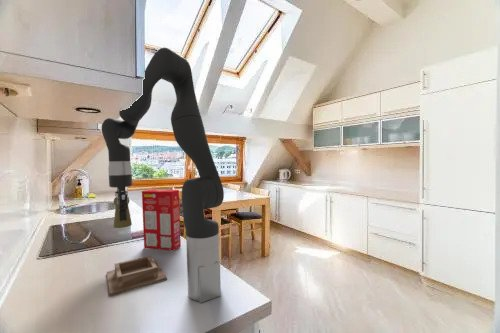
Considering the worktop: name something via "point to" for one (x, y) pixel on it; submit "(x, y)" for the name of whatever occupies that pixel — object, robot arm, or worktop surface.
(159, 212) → the food packaging
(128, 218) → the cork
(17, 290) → the worktop surface
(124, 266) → the shaker holder
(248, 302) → the worktop surface
